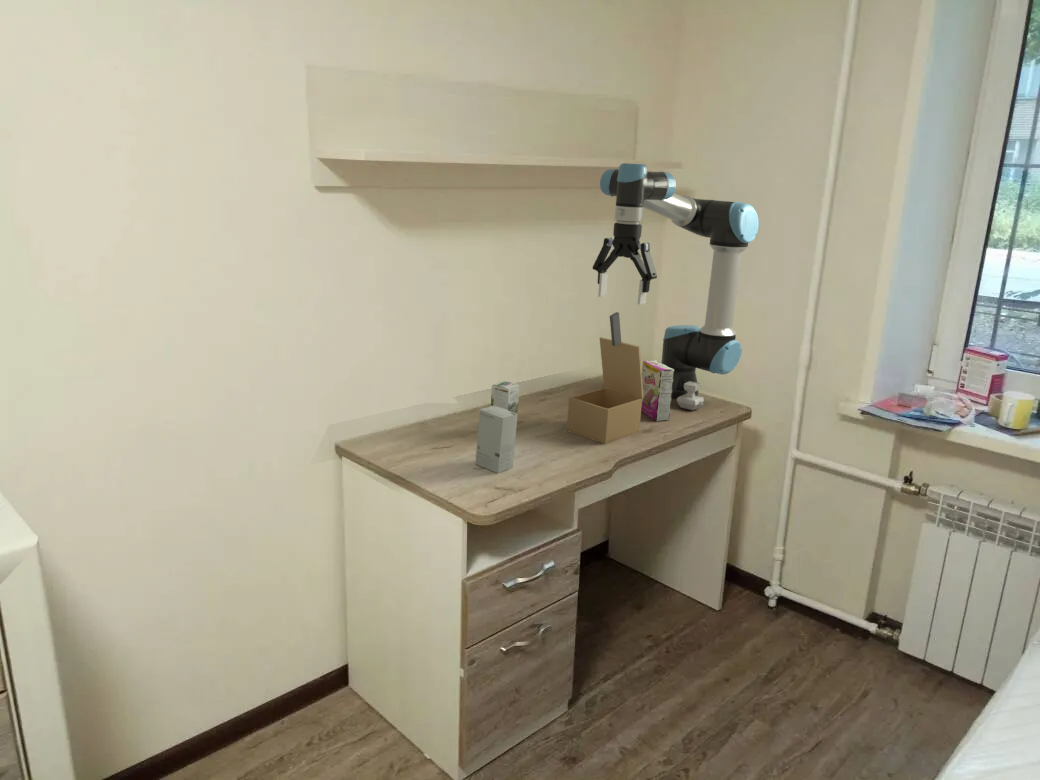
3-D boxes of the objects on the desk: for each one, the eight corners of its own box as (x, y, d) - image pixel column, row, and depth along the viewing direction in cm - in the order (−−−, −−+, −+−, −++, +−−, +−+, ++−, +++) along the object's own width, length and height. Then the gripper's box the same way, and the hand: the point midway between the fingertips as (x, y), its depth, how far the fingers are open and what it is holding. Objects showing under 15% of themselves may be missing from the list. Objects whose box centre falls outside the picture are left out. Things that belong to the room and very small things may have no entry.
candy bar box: (637, 410, 250) (642, 360, 245) (651, 409, 251) (656, 359, 247) (655, 422, 240) (661, 369, 235) (669, 420, 242) (675, 369, 237)
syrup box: (499, 428, 227) (501, 379, 223) (517, 432, 225) (519, 383, 220) (488, 433, 223) (490, 384, 218) (506, 438, 220) (509, 388, 216)
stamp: (672, 407, 255) (674, 382, 252) (681, 403, 260) (683, 378, 258) (698, 413, 250) (701, 388, 247) (706, 409, 255) (709, 384, 253)
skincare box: (474, 464, 200) (476, 408, 196) (491, 458, 205) (493, 404, 200) (499, 474, 195) (501, 417, 191) (515, 468, 199) (518, 412, 195)
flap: (599, 391, 235) (605, 386, 237) (637, 402, 226) (643, 397, 228) (591, 312, 224) (598, 308, 225) (631, 320, 215) (637, 316, 216)
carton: (601, 419, 240) (603, 387, 237) (639, 431, 230) (642, 399, 228) (566, 430, 228) (569, 397, 225) (605, 444, 219) (608, 409, 216)
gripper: (583, 218, 220) (578, 294, 226) (658, 227, 204) (651, 308, 210) (600, 218, 225) (594, 291, 232) (674, 226, 209) (666, 305, 215)
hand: (621, 300), depth 221 cm, fingers open, 13 cm apart
